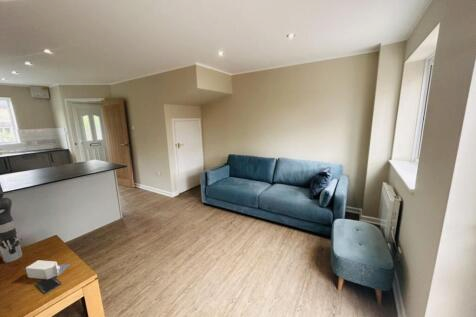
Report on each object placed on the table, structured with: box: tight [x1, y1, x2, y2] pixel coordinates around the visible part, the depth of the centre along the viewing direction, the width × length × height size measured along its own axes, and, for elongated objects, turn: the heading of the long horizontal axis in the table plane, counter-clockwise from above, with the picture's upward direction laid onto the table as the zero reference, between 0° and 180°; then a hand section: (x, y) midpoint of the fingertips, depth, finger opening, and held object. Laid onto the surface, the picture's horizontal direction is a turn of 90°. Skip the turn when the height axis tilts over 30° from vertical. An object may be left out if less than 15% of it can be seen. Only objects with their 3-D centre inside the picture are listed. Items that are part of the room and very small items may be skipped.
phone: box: [35, 276, 62, 294], centre depth 118 cm, size 8×1×15 cm
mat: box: [57, 263, 72, 276], centre depth 130 cm, size 16×10×1 cm, turn 95°
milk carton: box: [25, 259, 60, 280], centre depth 125 cm, size 7×7×19 cm
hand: (13, 253), depth 125 cm, fingers closed
